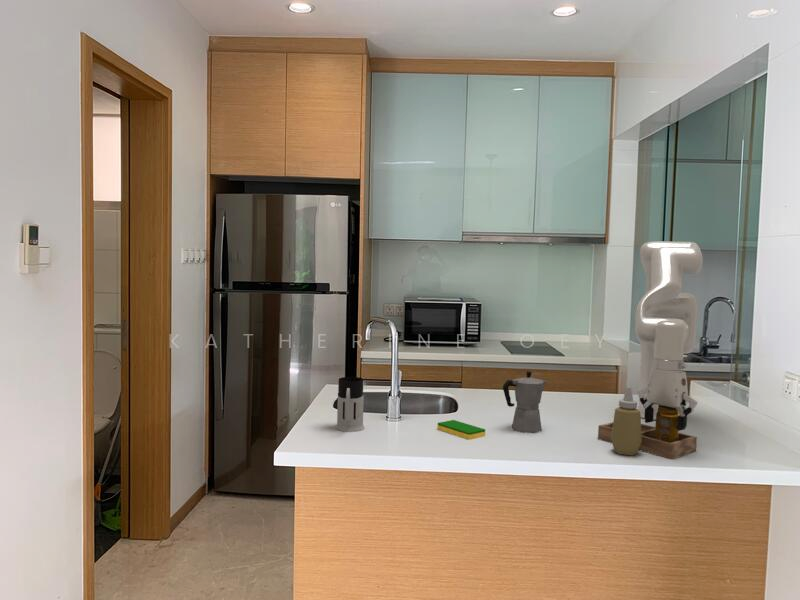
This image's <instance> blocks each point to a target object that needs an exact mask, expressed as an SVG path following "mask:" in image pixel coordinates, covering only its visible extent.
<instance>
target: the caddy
mask: <svg viewBox="0 0 800 600" xmlns="http://www.w3.org/2000/svg"><path fill="white" fill-rule="evenodd" d="M612 427H613V422H612V421H611V422H608V423H604V424H599V425H598V428H597V429H598V431H597V439H598V440H600V439H601V441H604V442H608V443H611V442H612V440H611V433H612ZM655 429H656V426H653V425H652V426H651V425H648V424H644V423H641V434H642V442H641V445H640V447H639V449H638V451H640V450H642V451H641V452H644V451H645V452H644V453H647V452H649V453H648V454H651V453H652V454H651V455H654V454H656V455H655V456H658V455H659V456H658V457H662V456H663V457H662V458H665V457H667V458H666V459H669V458H670V459H669V460H673V459H676V457H677V458H680V457H682V456H685V454H686V455H688V454H691V453H694V452H697V445H698V444H697V440H698V438H697V436H694V435H690V434H685V433H681V432H679V435H678V441H676V442H672V443H669V442H665V441H661V440H657V439H655ZM679 456H680V457H679Z"/></svg>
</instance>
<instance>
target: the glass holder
mask: <svg viewBox="0 0 800 600" xmlns="http://www.w3.org/2000/svg"><path fill="white" fill-rule="evenodd" d="M337 386H338V391H337V392H338V393H337V412H336V413H337V418H336V426H335V430H336V431H339V430H340V432H344V431H345V432H346V433H348V432H349V433H351V432H352V433H355V432H361V431H363V430H365V426H364V401H365V400H364V378H362V377H358V376H343V377H339V378H338V385H337ZM345 432H344V433H345Z"/></svg>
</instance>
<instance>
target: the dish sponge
mask: <svg viewBox="0 0 800 600" xmlns="http://www.w3.org/2000/svg"><path fill="white" fill-rule="evenodd" d="M437 430H439V431H442V432H444V433H447V434H451V435H453V436H457V437H459V438H461V439H464V440H465V439H466V440H474V439H479V438H483V437H486V429H485V428H482V427H478V426H475V425H473V424H469V423H465V422H461V421H459V420H455V419H450V420H446V421H441V422H437Z"/></svg>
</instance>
